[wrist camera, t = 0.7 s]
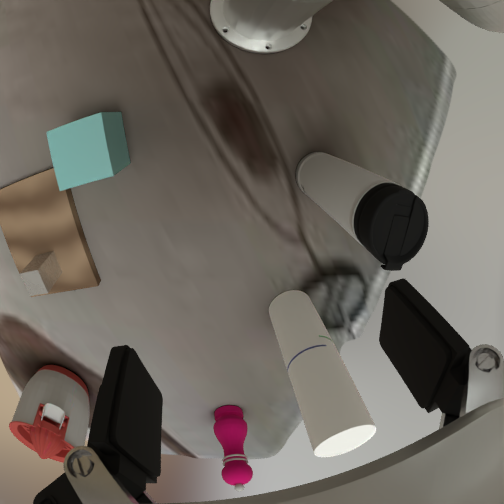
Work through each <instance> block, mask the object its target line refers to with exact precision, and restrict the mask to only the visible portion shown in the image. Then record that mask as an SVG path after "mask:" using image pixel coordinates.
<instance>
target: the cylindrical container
mask: <svg viewBox="0 0 504 504" xmlns="http://www.w3.org/2000/svg"><path fill="white" fill-rule="evenodd" d="M269 316H270V319H271V322H272V325H273V328H274V331H275V334H276V337H277V340H278V343H279V347H280V350H281V353H282V356H283V359H284V362H285V365H286V368H287V371H288V374H289V378H290V381H291V384H292V387H293V390H294V393H295V396H296V399H297V402H298V405H299V408H300V411H301V414H302V417H303V420H304V423H305V427H306V430H307V433H308V436H309V439H310V442H311V445H312V448H313V451H314V454H315V455H316V456H318V457H332V456H336V455H340V454H343V453H346V452H348V451H351V450H353V449H355V448H357V447H359V446H360V445H362V444H364V443H365V442H366V441H368V440H369V439H370V438H371V437H372V436H373V435H374V434H375V432H376V426H375V424H374V422H373V421H372V418H371V416H370V414H369V412H368V410H367V408H366V406H365V404H364V402H363V400H362V398H361V396H360V394H359V392H358V390H357V388H356V386H355V384H354V382H353V380H352V378H351V376H350V374H349V372H348V370H347V368H346V366H345V364H344V362H343V360H342V359H341V356H340V355H339V353H338V351H337V349H336V347H335V345H334V343H333V341H332V339H331V337H330V335H329V333H328V331H327V330H326V328H325V326H324V324H323V322H322V320H321V318H320V316H319V314H318V313H317V311H316V309H315V307H314V305H313V303H312V301H311V299H310V298H309V296H308V295H307V294H306V293H304V292H302V291H299V290H289V291H286V292H283V293H281V294H280V295H278V296H277V297H276V298H275V299H274V300H273V301H272V302H271V304H270V306H269Z"/></svg>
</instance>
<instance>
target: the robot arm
mask: <svg viewBox="0 0 504 504" xmlns="http://www.w3.org/2000/svg"><path fill="white" fill-rule="evenodd" d="M332 1H333V0H211V3H210V17H211V21H212V23H213V26H214V28H215V29H216V31H217V32H218V34H219V35H220V36H221V37H222V38H223V39H224V40H225V41H227V42H228V43H230V44H231V45H233V46H235V47H237V48H239V49H241V50H244V51H248V52H251V53H258V54H271V53H277V52H281V51H284V50H287V49H289V48H291V47H292V46H294V45H296V44H297V43H298V42H300V41H301V40H302V39H303V38H304V37H305V36H306V34H307V33H308V31H309V29H310V26H311V23H312V16H313V15H314V14H315V13H317V12H318V11H319V10H321V9H322V8H323V7H325V6H326V5H327V4H329V3H330V2H332ZM440 1H441V2H442V3H444V4H445V5H446V6H447V7H449V8H450V9H451V10H453V11H454V12H456V13H457V14H458V15H460V16H461V17H462V18H464V19H465V20H467V21H469V22H470V23H472V24H474V25H475V26H478V27H480V28H482V29H485V30H488V31H492V32H499V33H504V0H440ZM300 27H302V28H303V30H302V29H301V28H300ZM224 30H226V31H227V33H224V32H223V31H224ZM266 46H267V47H269V49H266V48H265V47H266ZM379 341H380V345H381V347H382V349H383V350H384V351H385V353H386V355H387V356H388V357H389V359H390V361H391V362H392V364H393V365H394V367H395V368H396V370H397V371H398V373H399V374H400V376H401V377H402V379H403V381H404V382H405V384H406V385H407V387H408V388H409V390H410V391H411V393H412V395H413V396H414V398H415V399H416V401H417V402H418V404H419V406H420V407H421V408H425V409H426V410H427V412H428V413H429V412H431V411H433V410H435V409H437V408H439V409H440V410H441V412H442V416H441V422H440V427H439V430H437V431H435V432H434V433H432V434H430V435H428V436H426V437H424V438H422V439H420V440H418V441H416V442H414V443H413V444H410V445H408V446H406V447H404V448H402V449H400V450H398V451H396V452H394V453H392V454H389V455H387V456H385V457H382V458H380V459H378V460H375V461H373V462H370V463H368V464H365V465H363V466H360V467H357V468H355V469H352V470H349V471H346V472H344V473H340V474H338V475H335V476H331V477H328V478H325V479H322V480H318V481H315V482H311V483H308V484H304V485H300V486H296V487H292V488H288V489H284V490H279V491H275V492H269V493H264V494H259V495H253V496H247V497H241V498H233V499H226V500H216V501H205V502H190V503H170V504H504V360H503V356H502V354H501V353H500V352H499V351H498V350H497V349H496V348H494V347H493V346H490V345H486V344H485V345H479V346H476V347H475V348H473V350H471V349H470V348H469V345H468V344H467V343H466V342H465V341H464V339H463V338H462V337H461V336H460V335H459V334H458V333H457V332H456V331H455V330H454V329H453V327H452V326H450V324H449V323H448V322H447V321H446V320H445V319H444V318H443V317H442V316H441V315H440V314H439V313H438V312H437V310H436V309H435V308H434V307H433V306H432V305H431V304H430V303H429V302H428V301H427V300H426V299H425V298H424V297H423V296H422V295H421V294H420V293H419V292H418V291H417V290H416V289H415V288H414V287H413V286H412V285H411V284H410V283H409V282H408V281H407V280H405V279H400V280H397V281H394V282H391V283H390V284H389V286H388V287H387V288H386V290H385V298H384V307H383V315H382V323H381V330H380V337H379ZM162 403H163V399H162V394H161V392H160V390H159V389H158V387H157V386H156V384H155V383H154V381H153V379H152V378H151V376H150V375H149V373H148V371H147V370H146V368H145V367H144V365H143V363H142V362H141V360H140V358H139V357H138V355H137V353H136V351H135V350H134V349H133V348H130V347H129V346H127V345H124V346H117V347H113V348H112V349H111V352H110V355H109V359H108V363H107V366H106V370H105V374H104V378H103V382H102V385H101V386H100V388H99V392H98V396H97V401H96V405H95V409H94V414H93V419H92V424H91V429H90V434H89V439H88V445H87V446H77V447H75V448H73V449H71V450H70V451H69V452H68V453H67V455H66V457H65V459H64V471H65V473H63V474H62V475H61V476H60V477H58V478H57V479H56V480H55V481H54V482H52V483H51V484H50V485H48V486H47V487H46V488H45V489H43V490H42V491H41V492H40V493H38V494H37V495H36V497H35V499H34V502H33V504H157V503H156V502H155V501H154V500H153V499H152V498H151V496H150V495H149V494H148V493H147V492H146V491H145V490H146V483H157V477H158V476H160V473H161V425H162ZM168 504H169V503H168Z"/></svg>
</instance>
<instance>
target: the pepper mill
mask: <svg viewBox="0 0 504 504" xmlns="http://www.w3.org/2000/svg"><path fill="white" fill-rule="evenodd" d="M214 414H215V420H216V423H215V424H214V433H215V435H216V437H217V439H218V440H219V442H220V443H221V445H222V447H223V449H224V458H223V459H222V460H223V465H224V466H225V467H224V468H223V470H222V477H223V480H225V482H226V483H228V484H230V485H235V489H236V490H237V491H242V490H243V489H244V486H243V484H246V483H248V482H249V481H250V480H251V478H252V475H253V471H252V468H251V467H250V466H249V465H248V464H247V463H248V460H247V456H246V455H245V454H244V450H243V443H244V440H245V437H246V435H247V423H246V422H245V421H244V420H243V412H242V409H241V408H239V407H237V406H233V405H227V406H222V407H220V408H218V409H216V411H215V413H214Z"/></svg>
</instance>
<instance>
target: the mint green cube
mask: <svg viewBox="0 0 504 504" xmlns="http://www.w3.org/2000/svg"><path fill="white" fill-rule="evenodd" d="M47 138H48V143H49V148H50V153H51V157H52V162H53V166H54V170H55V175H56V179H57V183H58V186H59V190H60V191H62V190H66V189H69V188H72V187H75V186H79V185H82V184H86V183H89V182H93V181H96V180H100V179H103V178H107V177H111V176H114V175H115V174H117V173H118V172H119V171H121V170H122V169H123V168H125V167H126V166H127V165H129V164H130V158H129V153H128V148H127V142H126V137H125V132H124V126H123V120H122V114H121V112H100V113H97V114H94V115H91V116H88V117H85V118H82V119H80V120H77V121H74V122H71V123H69V124H66V125H63V126H61V127H58V128H56V129H53V130H51V131H48V132H47Z"/></svg>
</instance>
